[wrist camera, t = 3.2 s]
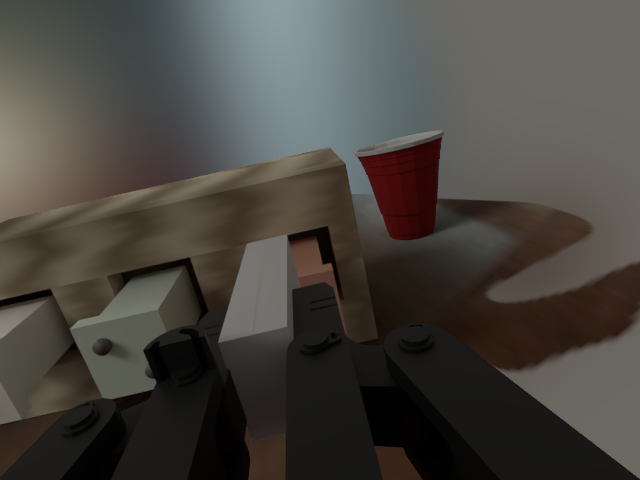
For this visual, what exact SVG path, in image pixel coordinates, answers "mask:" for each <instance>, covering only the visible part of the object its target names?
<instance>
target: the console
mask: <svg viewBox="0 0 640 480" xmlns="http://www.w3.org/2000/svg"><path fill="white" fill-rule="evenodd" d="M286 234H287V236H288V240H289V241H293V240H298V239H302V238H307V237H311V236H316V238H317V242H318V247H319V251H320V255H321V260H322V264H323V265H324V264H329V263H331V265H332V268H333V272H334V277H335V282H336V286H337V291H338V295H339V300H340V304H341V309H342V314H343V318H344V323H345V327H346V332H347V337H348V338H349V339H351V340H352V341H354V342H356V343H360V342H365V341H369V340H374V339H378V334H377V329H376V324H375V318H374V313H373V308H372V302H371V297H370V292H369V286H368V281H367V276H366V270H365V265H364V260H363V255H362V249H361V244H360V239H359V233H358V228H357V223H356V217H355V212H354V207H353V201H352V196H351V191H350V186H349V180H348V175H347V170H346V165H345V163H344V162H343V161H342V160H341V159H340V158H339V157H338V156H337V155H336V154H335V153H334V152H333V151H332V149H331V148H325V149H321V150H316V151H312V152H307V153H303V154H298V155H294V156H289V157H285V158H280V159H276V160H271V161H267V162H262V163H258V164H254V165H249V166H245V167H240V168H236V169H231V170H227V171H223V172H218V173H214V174H209V175H205V176H200V177H196V178H191V179H187V180H182V181H178V182H174V183H169V184H165V185H160V186H156V187H151V188H147V189H142V190H138V191H134V192H129V193H124V194H120V195H116V196H111V197H107V198H102V199H98V200H93V201H89V202H84V203H80V204H75V205H71V206H67V207H62V208H58V209H53V210H49V211H44V212H40V213H35V214H31V215H27V216H23V217H18V218H13V219H9V220H7V221H4V222H2V223H0V307H2V306H6V305H11V304H15V303H19V302H24V301H28V300H33V299H37V298H41V297H46V296H50V295H54V297H55V299H56V301H57V303H58V305H59V307H60V309H61V311H62V313H63V315H64V317H65V319H66V321H67V323H68V325H69V327H70V329H71V327H72V326H73V325H74V324H75V323H76V322H77V321H78V320H82V319H86V318H91V317H95V316H99V315H100V314H101V313H102V312H103V311H104V309H105V308H106V307H107V306H108V305H109V304H110V303H111V301H112V300H113V299H114V298H115V297H116V296H117V295H118V293H119V292H120V291H121V290H122V289H123V288H124V287H125V285H126V284H127V283H128V282H129V281H130V280H131V279H132V277H134V276H139V275H143V274H148V273H152V272H156V271H161V270H165V269H170V268H174V267H178V266H183V265H186V268H187V271H188V274H189V276H190V279H191V282H192V285H193V288H194V291H195V294H196V296H197V299H198V302H199V305H200V308H201V314H200V316H199V319H198V321H197V324H196V326H198V323H199V321H200V320H201V319H202V318H203V317H204V316H205V315H206V314H207V313H208V312H209V311H210V310H213V309H217V308H221V307H225V306H229V303H230V300H231V296H232V293H233V290H234V286H235V283H236V279H237V276H238V273H239V269H240V266H241V262H242V259H243V256H244V252H245V249H246V245H247V243H252V242H256V241H260V240H265V239H269V238H273V237H277V236H282V235H286ZM152 390H153V389H152ZM148 391H150V390H148ZM144 392H146V391H144ZM139 393H142V392H139ZM135 394H137V393H135ZM130 395H133V394H130ZM126 396H128V395H126ZM122 397H124V396H122ZM26 398H27V400H28V401H29V403H30V405H31V407H32V408H31V409H30V410H29V411H28V413H27V414H26V415H25V416H24V417H23V419H28V418H32V417H37V416H41V415H45V414H50V413H54V412H58V411H63V410H67V409H72V408H74V407H76V406H78V405H80V404H82V403H83V404H84V402H87V401H90V400H95V399H100V398H103V397H102V395H101V393H100V391H99V389H98V387H97V385H96V383H95V381H94V379H93V377H92V375H91V373H90V370H89V368H88V366H87V364H86V362H85V360H84V358H83V356H82V354H81V352H80V350H79V348H78V346H77V344H76V342H75V341H74V343H73V344H72V345H71V346H70V347H69V348H68V349H67V350H66V352H65V353H64V354H63V355H62V356H61V357H60V358H59V360H58V361H57V362H56V363H55V364H54V365H53V366H52V367H51V369H50V370H49V371H48V372H47V373H46V374H45V375H44V376H43V378H42V379H41V380H40V381H39V382H38V383H37V384H36V386H35V387H34V388H33V389H32V390H31V391H30V392H29V393H28V395H27V396H26ZM117 398H120V397H117ZM113 399H115V398H113ZM23 419H21V420H23ZM17 421H19V420H17ZM12 422H15V421H12ZM8 423H10V422H8ZM5 424H6V423H5Z"/></svg>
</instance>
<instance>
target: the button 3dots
mask: <svg viewBox="0 0 640 480" xmlns="http://www.w3.org/2000/svg"><path fill="white" fill-rule="evenodd" d="M289 244H290V248H291V252H292V256H293V259H294V263H295V267H296V271H297V275H298V279H299V282H300V286H301V287H305V286H309V285H313V284H318V283H322V282H326V283H327V284H329V285H330V286H332V287H333V288H334V292H335V296H336V300H337V304H338V308H339V312H340V316H341V320H342V323H343V327H344V331H345V333H346V335H347V332H346V327H345V323H344V318H343V314H342V309H341V304H340V300H339V295H338V291H337V286H336V282H335V277H334V272H333V268H332V265H331V263H329V264H324V265H323V264H322V260H321V255H320V251H319V247H318V242H317V238H316V236H311V237H307V238H302V239H298V240H293V241H289Z"/></svg>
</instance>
